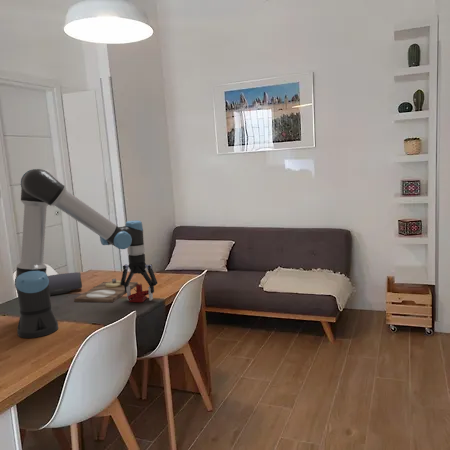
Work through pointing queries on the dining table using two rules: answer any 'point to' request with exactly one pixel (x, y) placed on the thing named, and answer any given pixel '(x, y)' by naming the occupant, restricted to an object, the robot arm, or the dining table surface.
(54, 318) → the robot arm
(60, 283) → the bluetooth speaker
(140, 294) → the red branched block
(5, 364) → the dining table surface
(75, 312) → the dining table surface
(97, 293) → the gear board
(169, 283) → the dining table surface
